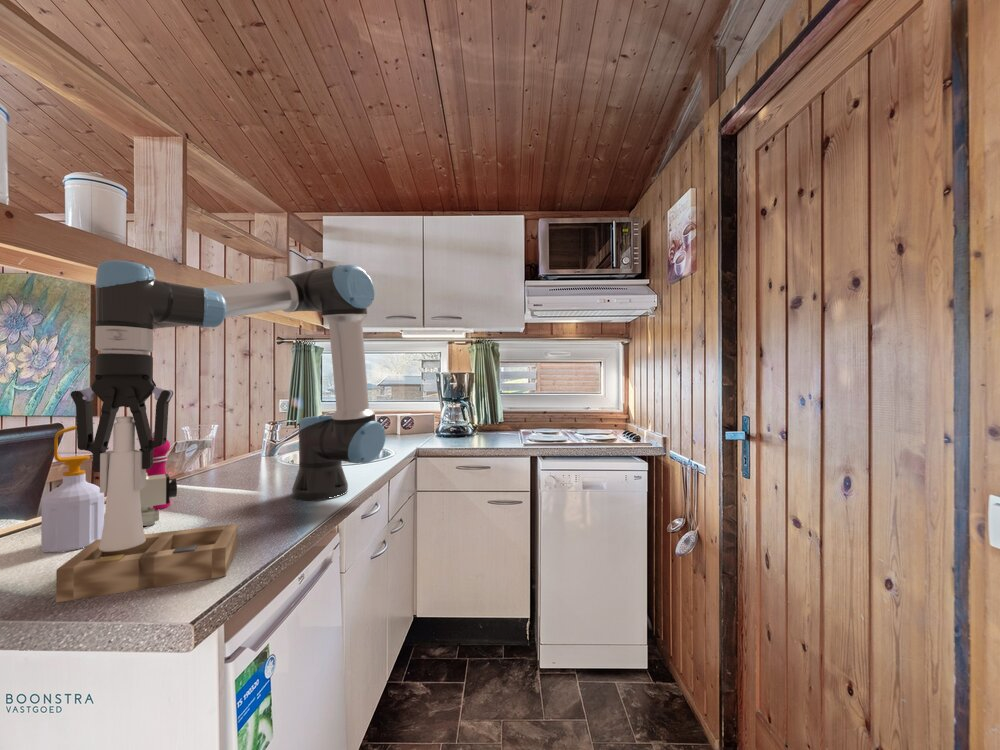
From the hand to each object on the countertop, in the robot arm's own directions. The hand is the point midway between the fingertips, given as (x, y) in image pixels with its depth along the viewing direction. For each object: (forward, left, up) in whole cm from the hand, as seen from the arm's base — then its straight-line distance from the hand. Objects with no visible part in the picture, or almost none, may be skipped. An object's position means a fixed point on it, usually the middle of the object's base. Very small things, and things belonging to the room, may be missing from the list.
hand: (123, 489), depth 74 cm
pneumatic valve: (+6, -31, -15) cm, 35 cm away
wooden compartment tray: (-5, 0, -15) cm, 16 cm away
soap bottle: (+15, -22, -15) cm, 31 cm away
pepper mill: (+8, -46, -15) cm, 49 cm away
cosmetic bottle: (0, 0, -10) cm, 10 cm away
